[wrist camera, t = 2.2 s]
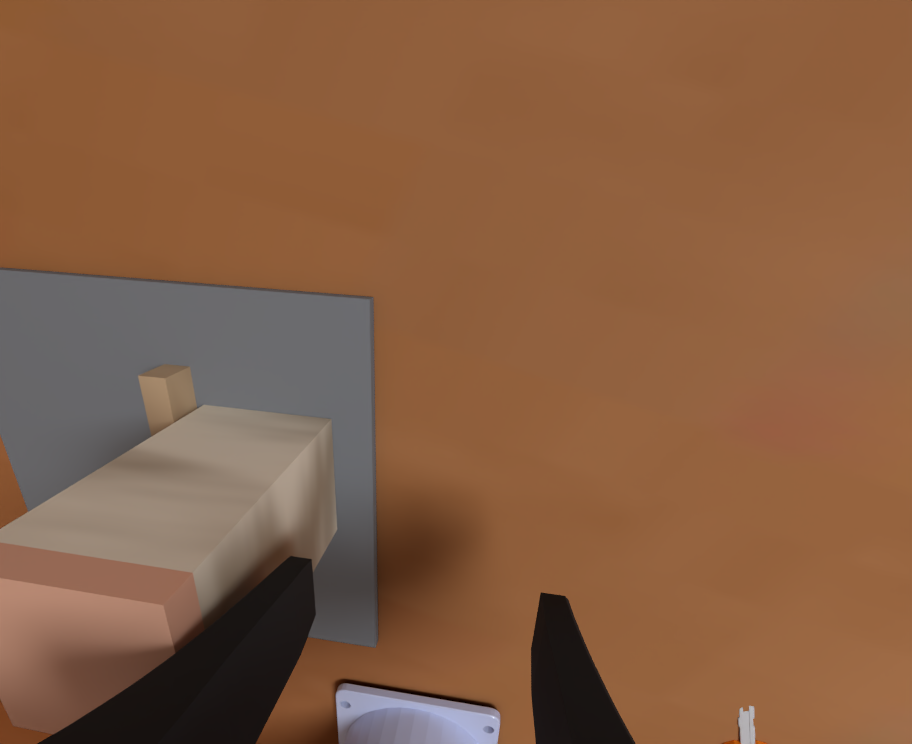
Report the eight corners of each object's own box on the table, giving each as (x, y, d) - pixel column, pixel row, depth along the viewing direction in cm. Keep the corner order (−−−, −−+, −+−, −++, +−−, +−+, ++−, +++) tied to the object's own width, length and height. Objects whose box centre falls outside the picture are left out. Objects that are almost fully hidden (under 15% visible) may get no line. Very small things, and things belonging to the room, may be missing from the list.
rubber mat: (377, 639, 20) (375, 647, 20) (67, 590, 22) (59, 597, 21) (373, 297, 14) (369, 299, 14) (-48, 263, 16) (-62, 265, 15)
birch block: (337, 529, 17) (203, 765, 10) (222, 513, 18) (13, 726, 10) (331, 418, 16) (163, 605, 8) (204, 404, 16) (-63, 567, 9)
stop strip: (220, 541, 18) (201, 562, 17) (198, 538, 19) (178, 558, 17) (189, 366, 16) (165, 378, 15) (164, 363, 16) (137, 375, 15)
